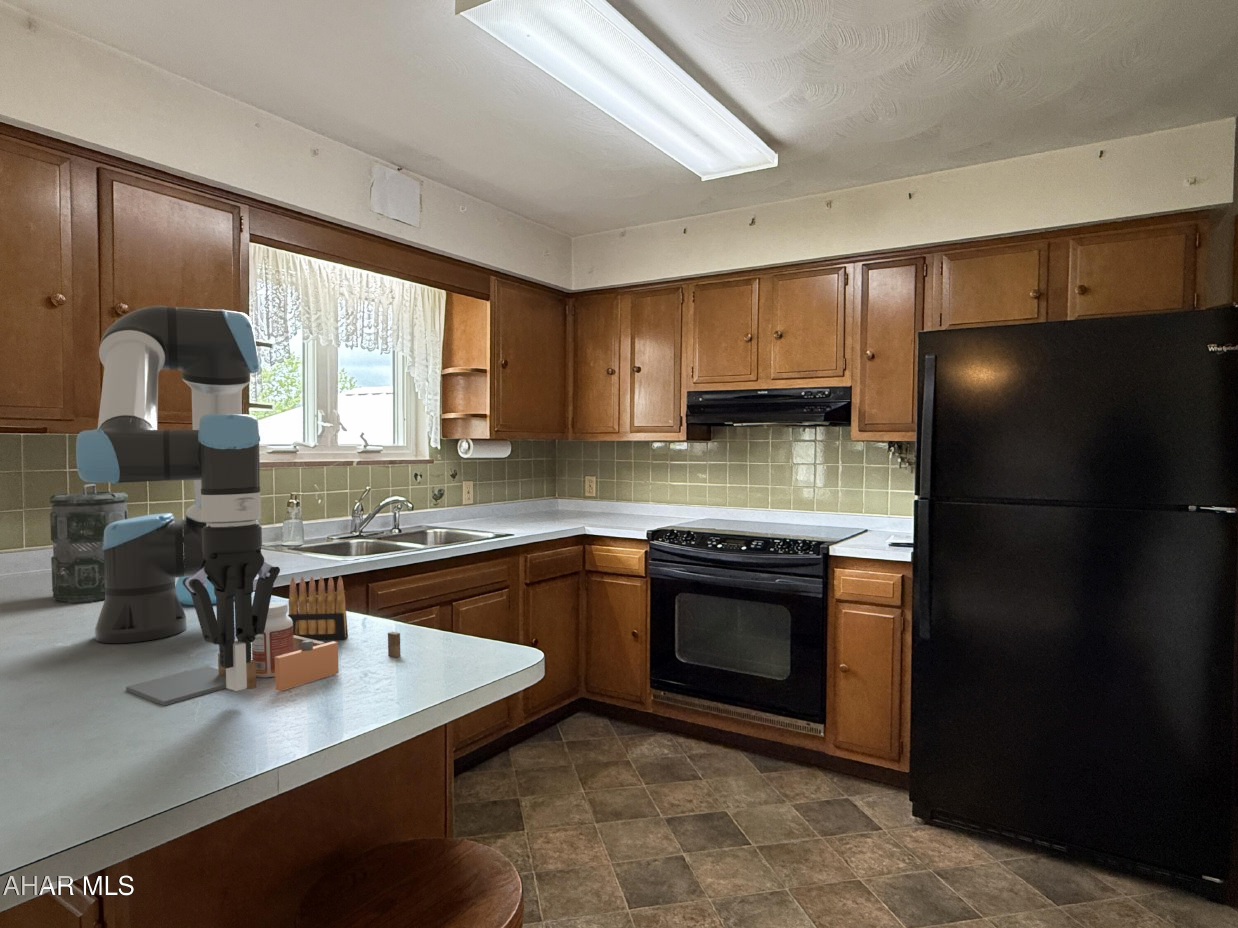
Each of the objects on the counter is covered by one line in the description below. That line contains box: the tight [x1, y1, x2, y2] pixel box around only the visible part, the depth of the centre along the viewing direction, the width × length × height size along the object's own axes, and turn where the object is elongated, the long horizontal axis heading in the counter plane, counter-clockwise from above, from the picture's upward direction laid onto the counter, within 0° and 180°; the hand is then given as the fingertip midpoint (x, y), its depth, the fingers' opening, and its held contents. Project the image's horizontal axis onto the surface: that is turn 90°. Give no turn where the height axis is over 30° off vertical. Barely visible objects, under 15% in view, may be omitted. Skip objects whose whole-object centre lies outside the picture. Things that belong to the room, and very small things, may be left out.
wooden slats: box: [217, 631, 401, 689], centre depth 121 cm, size 15×24×4 cm, turn 146°
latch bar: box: [274, 640, 340, 692], centre depth 113 cm, size 2×10×6 cm, turn 146°
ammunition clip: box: [287, 575, 349, 642], centre depth 138 cm, size 11×2×12 cm, turn 93°
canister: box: [49, 483, 130, 604], centre depth 180 cm, size 16×16×28 cm
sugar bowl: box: [175, 575, 216, 606], centre depth 175 cm, size 15×15×12 cm
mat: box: [125, 665, 227, 706], centre depth 112 cm, size 12×12×1 cm
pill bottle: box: [251, 601, 294, 679], centre depth 118 cm, size 6×6×11 cm
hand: (236, 687), depth 104 cm, fingers closed
